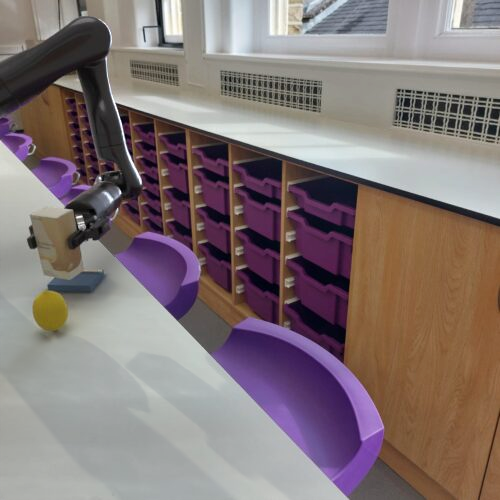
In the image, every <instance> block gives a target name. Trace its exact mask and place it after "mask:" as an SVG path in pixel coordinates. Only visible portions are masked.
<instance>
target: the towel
mask: <svg viewBox="0 0 500 500" xmlns="http://www.w3.org/2000/svg"><path fill="white" fill-rule="evenodd" d="M104 277H105V272H104V269H85V268H84V271H82V272H81V273H79V274H78V275H77V276H75V277H74V278H72V279H71V280H67V279H61V278H56V277H53V278H52V279H51V281H49V282H48V283H47V285H46V286H47V290H48V291H55V292H61V293H62V292H68V293H70V292H71V293H92V292H93V290H95V288H96V287H97V285H98V284H99V283H100V282H101V280H102V279H103V278H104Z"/></svg>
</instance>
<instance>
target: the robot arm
mask: <svg viewBox="0 0 500 500" xmlns="http://www.w3.org/2000/svg"><path fill="white" fill-rule="evenodd" d="M112 44H113V37H112V33H111V30H110V28H109V27H108V25H107V24H106V23H105V22H104V21H103V20H101V19H100V18H98V17H96V16H91V15H82V16H81V15H80V16H77V17H76V18H73V20H70V21H69V23H68V24H66V25H65V26H63V27H62V28H61V29H59V30H58V31H56V32H55V33H53V34H52V35H50V36H49V37H47V38H46V39H45V40H43V41H41V42H40V43H38V44H36V45H34V46H32V47H28V48H27V49H24V50H22V51H19V52H17V53H15V54H13V55H10V56H8V57H6V58H4V59H2V60H0V120H1V119H3V118H5V117H7V116H8V115H10V114H13V113H14V112H16V111H17V110H19V109H21V108H22V107H24V106H26V105H27V104H28V103H30V102H32V101H33V100H34V99H36V98H37V97H39V96H40V95H41V94H42V93H44V92H45V91H46V90H47V89H48V88H50V87H51V86H52V85H53V84H55V83H56V82H57V81H58V80H60V79H61V78H63V77H65V76H67V75H69V74H70V73H73V72H76V75H77V78H78V80H79V84H80V87H81V90H82V94H83V98H84V102H85V107H86V112H87V118H88V123H89V127H90V132H91V137H92V140H93V145H94V150H95V153H96V157H97V159H98V160H100V161H101V162H107V163H108V162H109V163H113V164H114V165H116V166H117V168H118V169H117V170H110V171H104V172H101V173H99V174H98V175H97V176H96V178H95V181H94V182H93V184H92V186H90V188H88V189H86V190H83V191H82V192H80V194H78V195H77V196H75V197H74V198H73V199H71V200H70V201H69V202H67V203H66V204H65V206H64V207H63V209H71V210H73V212H74V218H75V223H76V228H77V231H75V232H74V233H73V234H72V235H71V236H70V237H69V238H68V240H67V241H68V246H69V249H70V250H74V249H75V248H77V247H78V246H80V247H81V245H82V244H83V243H86V242H89V240H90V239H91V240H92V241H99V240H100V239H101V238H103V236H104V235H106V233H108V232H109V231H110V230H111V224H110V218H111V216H112V214H113V213H115V212H116V211H117V210H118V209H119V207H121V205H122V202H123V201H127V200H134V199H138V198H139V197H140V196H141V195H142V193H143V189H144V185H143V184H144V183H143V179H142V177H141V174H140V172H139V170H138V169H137V166H136V164H135V162H134V161H133V158H132V156H131V154H130V151H129V149H128V145H127V141H126V140H127V139H126V136H125V132H124V127H123V123H122V120H121V117H120V114H119V110H118V107H117V104H116V102H115V99H114V96H113V92H112V88H111V84H110V80H109V74H108V60H107V58H108V57H107V56H108V55H109V54H110V52H111V50H112V49H111V48H112ZM28 231H29V234H30V235H29V236H28V237H27V238H26V241H27V242H26V243H27V246H28V247H29V249H30V250H35V249H37V244H36V240H35V236H34V231H33V227H32V224H30V225H29V226H28Z"/></svg>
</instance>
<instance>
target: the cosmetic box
mask: <svg viewBox="0 0 500 500" xmlns="http://www.w3.org/2000/svg"><path fill="white" fill-rule="evenodd" d="M29 218H30V222H31V225H32V227H33V231H34V236H35V240H36V244H37V248H36V249H37V252H38V257H39V261H40V265H41V269H42V274H43V276H46V277H50V278H55V277H56V278H61V279H67V280H71V279H72V278H74V277H75V276H77V275H78V274H79V273H81V272H82V271H84V269H85V265H84V260H83V255H82V250H81V245H80V246H78V247H77V248H75V249H74V250H70V249H69V246H68V241H67V240H68V238H69V237H70V236H71V235H72V234H73V233H74V232H75V231H77V228H76V223H75V218H74V212H73V210H71V209H64V207H55V206H43V207H41V208H39V209H38V210H35V211H33V212H31V213H29Z"/></svg>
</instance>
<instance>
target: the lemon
mask: <svg viewBox="0 0 500 500" xmlns="http://www.w3.org/2000/svg"><path fill="white" fill-rule="evenodd" d="M32 316H33V319H34V321H35V323H36V324H37V326H39V327H40V328H41V329H42V330H45V331H52V332H57V331H58V330H59V329H60V328H62V327H63V326H65V324H66V322H67V320H68V317H69V307H68V305H67V302H66V300H65V298H64V297H63V296H62V294H60V293H59V292H58V291H49V290H48V289H45V290H43V291H41V292H40V293H39V294H38V295H37V296H35V298H34V300H33V302H32Z"/></svg>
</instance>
